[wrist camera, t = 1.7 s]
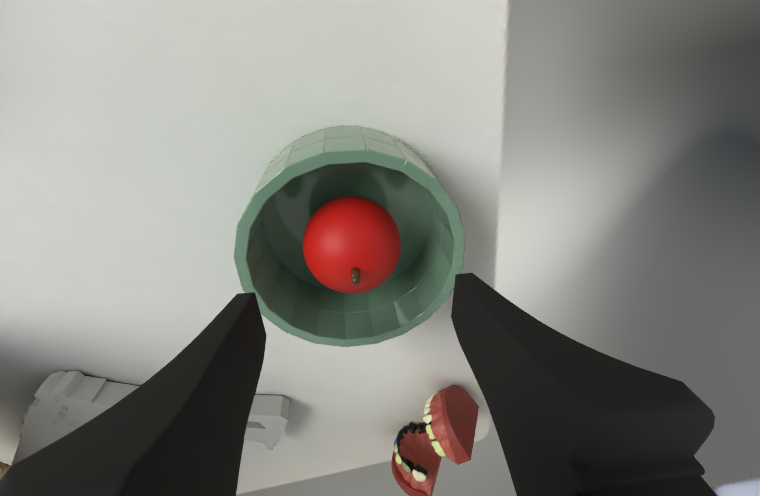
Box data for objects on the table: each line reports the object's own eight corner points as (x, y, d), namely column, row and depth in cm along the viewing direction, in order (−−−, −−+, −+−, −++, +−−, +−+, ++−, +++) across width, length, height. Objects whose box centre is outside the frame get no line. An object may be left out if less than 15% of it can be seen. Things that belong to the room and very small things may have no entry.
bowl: (273, 299, 21) (260, 356, 17) (235, 131, 16) (205, 158, 12) (433, 284, 22) (455, 335, 18) (443, 120, 17) (476, 143, 13)
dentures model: (424, 406, 23) (372, 477, 26) (481, 449, 22) (420, 517, 25) (443, 363, 28) (398, 426, 31) (490, 396, 27) (439, 458, 30)
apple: (311, 263, 20) (305, 331, 15) (300, 185, 17) (288, 236, 13) (393, 256, 20) (412, 320, 15) (392, 178, 18) (414, 226, 13)
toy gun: (167, 563, 36) (-14, 545, 30) (298, 399, 26) (64, 327, 20) (159, 588, 34) (-33, 573, 29) (296, 422, 24) (41, 351, 19)
